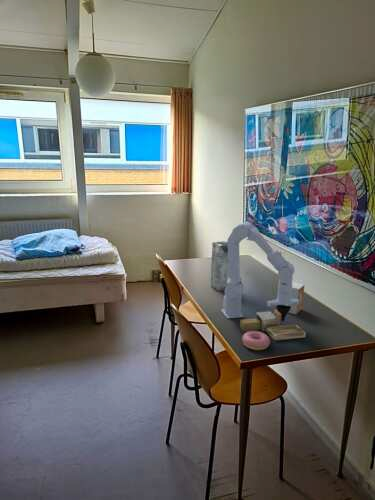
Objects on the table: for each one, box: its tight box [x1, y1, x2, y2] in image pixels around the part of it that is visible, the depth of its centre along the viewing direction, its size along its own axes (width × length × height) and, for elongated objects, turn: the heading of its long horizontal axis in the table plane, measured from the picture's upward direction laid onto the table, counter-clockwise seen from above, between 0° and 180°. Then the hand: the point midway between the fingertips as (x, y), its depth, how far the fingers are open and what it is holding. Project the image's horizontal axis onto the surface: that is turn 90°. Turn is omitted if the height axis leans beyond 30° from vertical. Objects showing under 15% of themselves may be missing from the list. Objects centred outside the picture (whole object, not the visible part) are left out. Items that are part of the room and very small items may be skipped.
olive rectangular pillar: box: [239, 317, 262, 332], centre depth 158 cm, size 9×4×4 cm, turn 105°
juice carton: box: [210, 240, 228, 292], centre depth 202 cm, size 9×10×27 cm
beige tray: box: [266, 324, 307, 341], centre depth 153 cm, size 7×14×2 cm, turn 104°
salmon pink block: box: [273, 308, 282, 326], centre depth 159 cm, size 5×8×6 cm, turn 104°
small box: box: [288, 281, 305, 315], centre depth 176 cm, size 8×6×13 cm
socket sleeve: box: [254, 311, 278, 332], centre depth 159 cm, size 8×7×5 cm
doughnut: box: [241, 330, 271, 351], centre depth 144 cm, size 11×11×4 cm
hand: (281, 320), depth 161 cm, fingers closed
